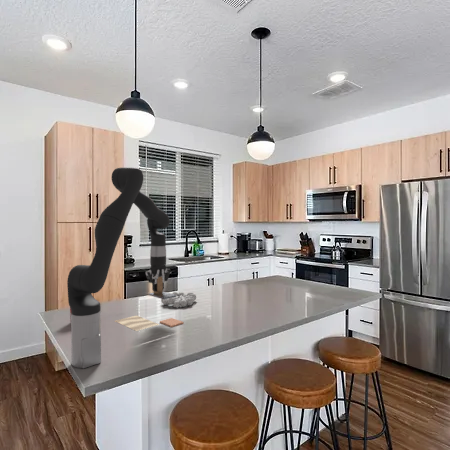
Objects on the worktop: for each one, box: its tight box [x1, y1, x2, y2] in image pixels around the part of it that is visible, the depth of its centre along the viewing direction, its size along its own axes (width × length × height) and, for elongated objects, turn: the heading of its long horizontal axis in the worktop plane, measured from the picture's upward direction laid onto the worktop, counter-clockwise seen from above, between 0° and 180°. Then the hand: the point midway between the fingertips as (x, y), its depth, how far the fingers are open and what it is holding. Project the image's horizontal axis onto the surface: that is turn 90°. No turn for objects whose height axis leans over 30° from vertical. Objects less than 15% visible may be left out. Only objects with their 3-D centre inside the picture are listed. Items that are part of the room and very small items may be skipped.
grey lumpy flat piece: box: [160, 291, 197, 309], centre depth 185 cm, size 22×21×6 cm
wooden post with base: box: [148, 276, 176, 300], centre depth 150 cm, size 12×7×9 cm, turn 46°
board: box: [114, 315, 161, 332], centre depth 148 cm, size 20×12×1 cm, turn 46°
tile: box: [159, 317, 184, 328], centre depth 148 cm, size 2×7×9 cm
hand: (158, 290), depth 152 cm, fingers closed on wooden post with base, 3 cm apart
